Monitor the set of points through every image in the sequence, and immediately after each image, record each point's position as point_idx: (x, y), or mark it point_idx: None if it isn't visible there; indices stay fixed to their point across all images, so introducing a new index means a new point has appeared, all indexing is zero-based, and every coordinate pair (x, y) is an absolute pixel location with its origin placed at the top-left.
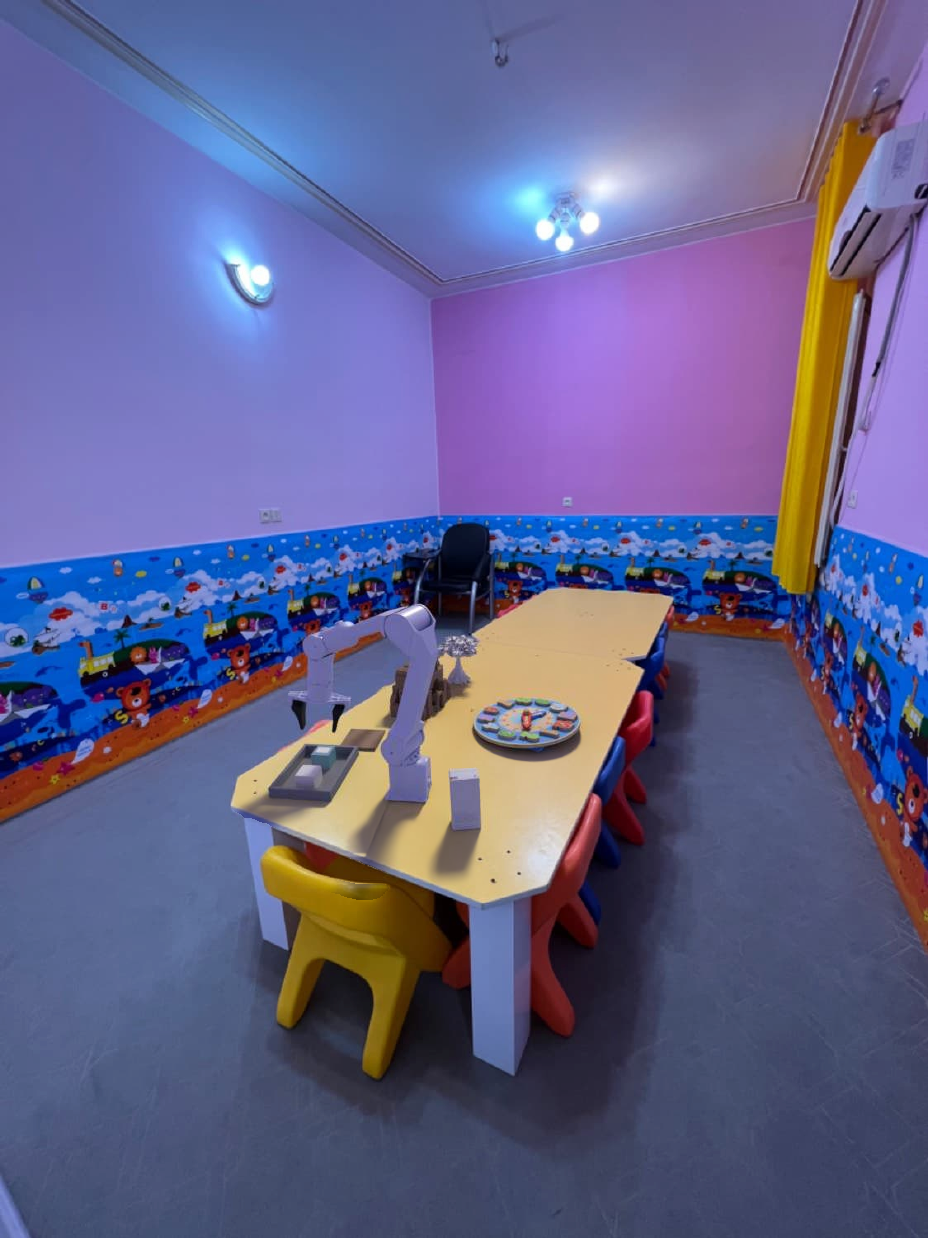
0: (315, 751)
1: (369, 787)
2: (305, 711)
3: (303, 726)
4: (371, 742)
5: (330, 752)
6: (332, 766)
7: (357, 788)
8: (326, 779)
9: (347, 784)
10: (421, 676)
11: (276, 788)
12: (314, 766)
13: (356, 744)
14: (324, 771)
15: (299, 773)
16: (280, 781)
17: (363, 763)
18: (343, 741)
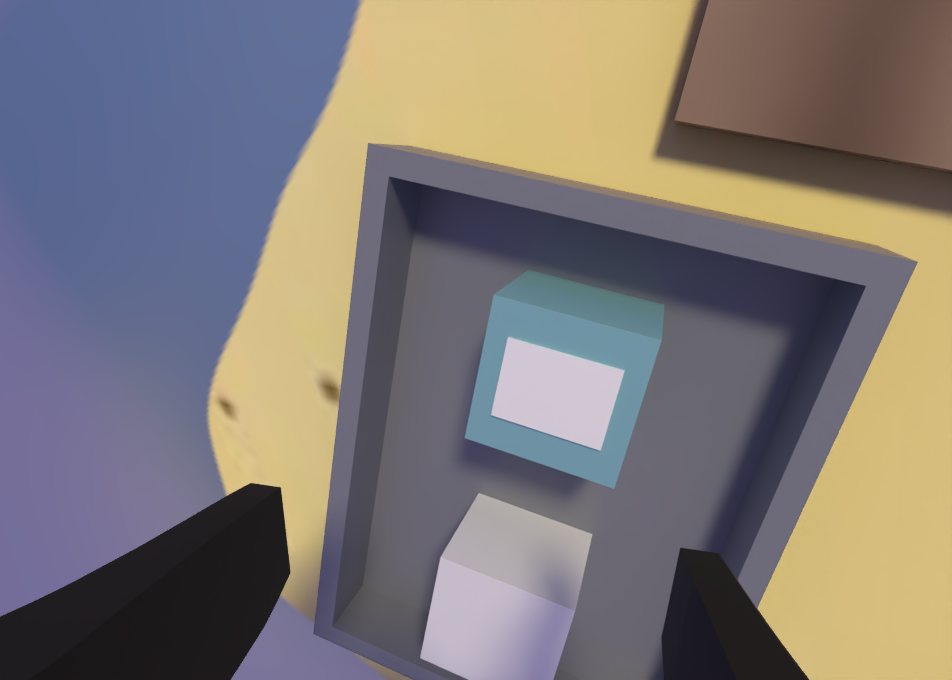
0: (491, 398)
1: (933, 673)
2: (111, 632)
3: (267, 597)
4: None
5: (628, 443)
6: None
7: (838, 654)
8: (615, 531)
9: (764, 593)
10: None
11: (355, 651)
12: (526, 604)
13: (871, 87)
14: None
15: (443, 647)
16: (352, 549)
17: (910, 367)
18: (718, 7)
